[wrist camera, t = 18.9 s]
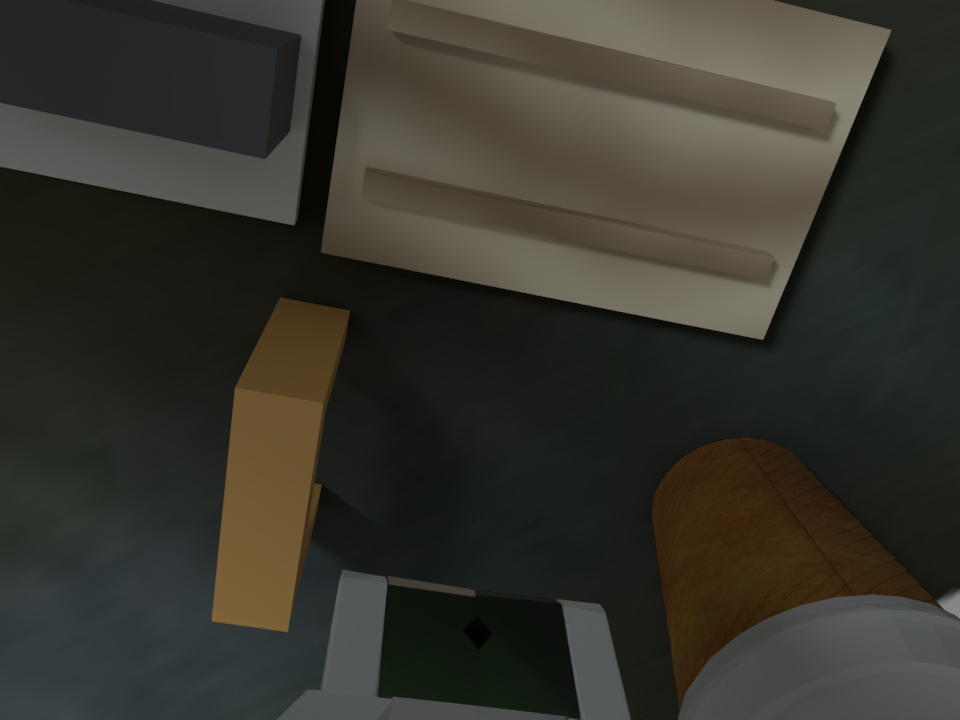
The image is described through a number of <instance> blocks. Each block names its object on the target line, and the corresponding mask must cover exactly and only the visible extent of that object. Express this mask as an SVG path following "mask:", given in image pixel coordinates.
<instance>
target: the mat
mask: <svg viewBox="0 0 960 720" xmlns="http://www.w3.org/2000/svg"><path fill="white" fill-rule="evenodd" d="M152 1H157V2H161V3H165V4H170V5H174V6H178V7H183V8H187V9H191V10H196V11H200V12H204V13H208V14H213V15H217V16H221V17H226V18H230V19H234V20H239V21H243V22H247V23H252V24H256V25H260V26H265V27H269V28H273V29H277V30H282V31H286V32H290V33H295V34H299V35H301V43H300V52H299V60H298V69H297V77H296V85H295V94H294V102H293V111H292V119H291V127H290V132H289V133H288V134H287V136H286V137H285V138H284V139H283V140H282V141H281V142H280V143H279V145H278V146H277V147H276V148H275V149H274V150H273V151H272V152H271V153H270V155H269V156H268V157H267V158H266V159H262V158H257V157H253V156H248V155H243V154H239V153H234V152H229V151H224V150H220V149H215V148H210V147H206V146H201V145H196V144H191V143H187V142H182V141H177V140H173V139H168V138H163V137H159V136H154V135H149V134H144V133H140V132H135V131H130V130H126V129H121V128H116V127H111V126H107V125H102V124H97V123H93V122H88V121H83V120H79V119H74V118H69V117H64V116H60V115H55V114H50V113H46V112H41V111H36V110H31V109H27V108H22V107H17V106H13V105H8V104H3V103H0V167H5V168H10V169H15V170H20V171H25V172H30V173H35V174H40V175H45V176H50V177H55V178H60V179H65V180H70V181H75V182H80V183H85V184H90V185H95V186H100V187H105V188H110V189H115V190H120V191H125V192H130V193H135V194H140V195H145V196H150V197H155V198H160V199H165V200H170V201H175V202H180V203H185V204H190V205H195V206H200V207H205V208H210V209H215V210H220V211H225V212H230V213H235V214H240V215H245V216H250V217H254V218H259V219H264V220H269V221H274V222H279V223H284V224H289V225H295V223H296V222H297V220H298V212H299V204H300V196H301V188H302V180H303V172H304V164H305V156H306V148H307V140H308V132H309V125H310V117H311V109H312V101H313V93H314V85H315V77H316V69H317V61H318V53H319V45H320V37H321V29H322V21H323V13H324V5H325V0H152Z"/></svg>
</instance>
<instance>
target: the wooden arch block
mask: <svg viewBox="0 0 960 720" xmlns="http://www.w3.org/2000/svg"><path fill="white" fill-rule="evenodd" d="M349 316H350V311H349V310H344V309H339V308H334V307H328V306H323V305H318V304H313V303H307V302H302V301H297V300H291V299H286V298H281V297H280V299H279V301H278V303H277V305H276V307H275V309H274V311H273V313H272V315H271V317H270V319H269V321H268V323H267V325H266V327H265V329H264V331H263V333H262V335H261V337H260V339H259V341H258V343H257V345H256V347H255V349H254V351H253V353H252V355H251V357H250V359H249V361H248V363H247V365H246V367H245V369H244V371H243V373H242V375H241V377H240V379H239V381H238V383H237V385H236V387H235V393H234V403H233V413H232V423H231V433H230V443H229V453H228V463H227V473H226V483H225V493H224V503H223V513H222V523H221V533H220V543H219V552H218V562H217V572H216V582H215V592H214V602H213V612H212V621H213V622H221V623H228V624H235V625H242V626H249V627H256V628H263V629H270V630H277V631H285V632H288V629H289V625H290V621H291V617H292V613H293V609H294V604H295V600H296V596H297V592H298V588H299V584H300V580H301V576H302V572H303V568H304V564H305V560H306V555H307V551H308V547H309V543H310V539H311V535H312V531H313V527H314V523H315V519H316V515H317V511H318V505H319V499H320V493H321V487H322V484H316V483H315V476H316V470H317V464H318V457H319V451H320V445H321V439H322V432H323V426H324V420H325V413H326V409H327V405H328V401H329V398H330V394H331V391H332V387H333V384H334V380H335V376H336V373H337V369H338V366H339V362H340V359H341V355H342V351H343V348H344V344H345V340H346V334H347V328H348V322H349Z"/></svg>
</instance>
